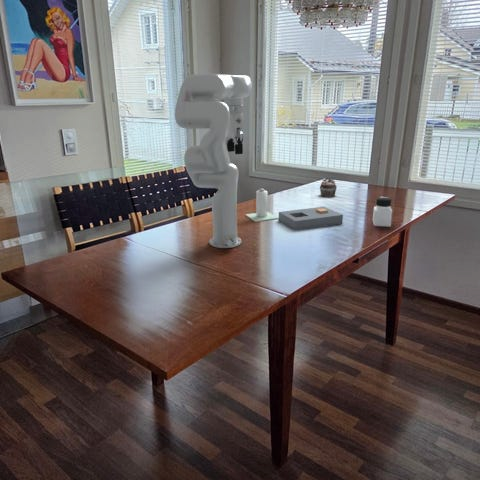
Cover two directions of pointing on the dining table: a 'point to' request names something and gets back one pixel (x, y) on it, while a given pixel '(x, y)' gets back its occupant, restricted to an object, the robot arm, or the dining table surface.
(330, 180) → the cupcake
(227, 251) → the dining table surface
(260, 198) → the cylinder
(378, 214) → the medicine bottle
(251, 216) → the mat
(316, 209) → the tan cube
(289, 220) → the housing
